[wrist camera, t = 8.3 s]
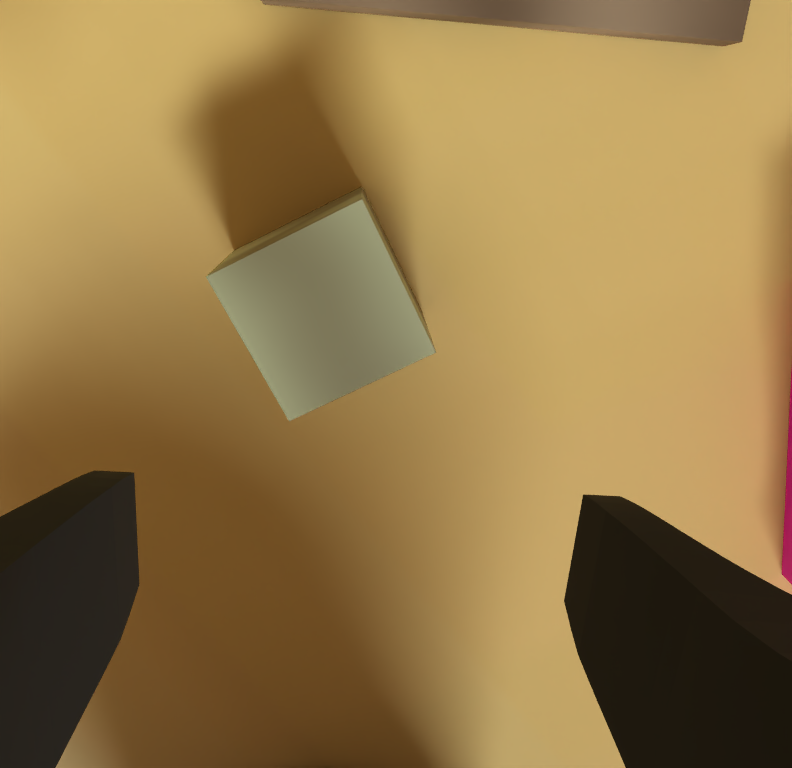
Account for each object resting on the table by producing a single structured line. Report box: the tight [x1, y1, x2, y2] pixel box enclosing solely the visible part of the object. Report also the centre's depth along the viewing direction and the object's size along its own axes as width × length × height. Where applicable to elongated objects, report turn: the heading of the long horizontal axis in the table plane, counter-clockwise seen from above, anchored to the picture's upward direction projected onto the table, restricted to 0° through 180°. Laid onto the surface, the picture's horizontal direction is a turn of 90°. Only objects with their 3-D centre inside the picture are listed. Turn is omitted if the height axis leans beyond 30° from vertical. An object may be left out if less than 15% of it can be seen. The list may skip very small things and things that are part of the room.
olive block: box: [206, 187, 436, 421], centre depth 19 cm, size 4×4×4 cm
